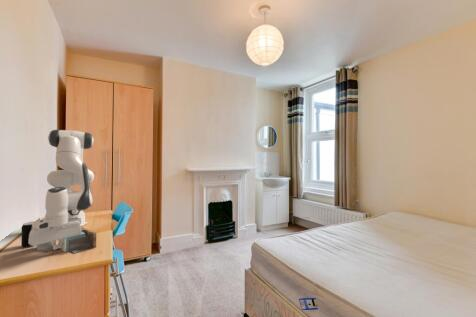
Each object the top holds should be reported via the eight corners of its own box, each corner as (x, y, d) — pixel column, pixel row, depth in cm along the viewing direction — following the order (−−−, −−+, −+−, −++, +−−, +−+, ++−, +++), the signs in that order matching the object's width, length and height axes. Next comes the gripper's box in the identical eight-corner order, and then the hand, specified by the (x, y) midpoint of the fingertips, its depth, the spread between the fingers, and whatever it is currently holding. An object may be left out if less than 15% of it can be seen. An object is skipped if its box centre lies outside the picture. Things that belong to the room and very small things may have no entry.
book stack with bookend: (59, 246, 117) (59, 229, 117) (81, 240, 125) (81, 224, 125) (73, 254, 107) (73, 235, 107) (96, 247, 115) (96, 230, 115)
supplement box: (35, 247, 115) (36, 223, 116) (54, 243, 121) (54, 220, 121) (37, 251, 110) (37, 226, 110) (56, 247, 116) (56, 223, 116)
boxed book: (61, 250, 111) (61, 236, 111) (81, 244, 119) (82, 231, 119) (64, 252, 109) (64, 238, 109) (85, 246, 117) (85, 233, 117)
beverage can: (26, 248, 114) (26, 225, 114) (18, 246, 116) (18, 224, 116) (41, 244, 120) (41, 222, 120) (33, 242, 122) (33, 220, 122)
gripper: (78, 215, 119) (78, 241, 119) (27, 224, 102) (27, 254, 102) (83, 217, 115) (83, 243, 115) (31, 227, 98) (31, 258, 98)
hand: (56, 248), depth 108 cm, fingers closed
